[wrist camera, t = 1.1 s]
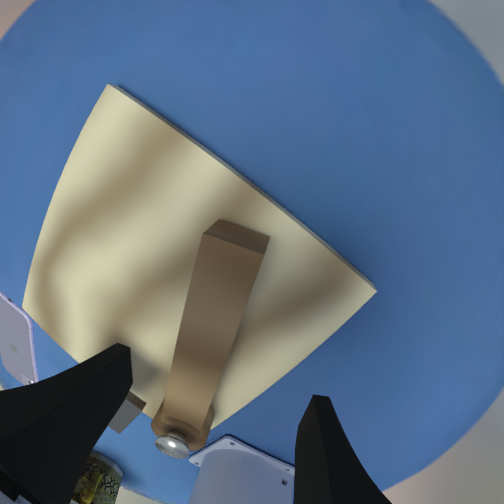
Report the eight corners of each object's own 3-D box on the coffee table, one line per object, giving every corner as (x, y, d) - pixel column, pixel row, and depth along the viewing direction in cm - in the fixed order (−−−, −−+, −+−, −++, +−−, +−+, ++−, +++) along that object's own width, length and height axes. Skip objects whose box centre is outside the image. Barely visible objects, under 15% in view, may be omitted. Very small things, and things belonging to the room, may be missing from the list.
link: (208, 431, 23) (199, 456, 20) (161, 413, 23) (149, 437, 20) (282, 240, 17) (278, 259, 14) (207, 215, 17) (188, 228, 14)
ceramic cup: (123, 485, 35) (101, 528, 26) (72, 451, 34) (45, 492, 25) (148, 469, 31) (122, 525, 21) (84, 427, 30) (48, 479, 21)
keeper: (215, 404, 22) (199, 449, 18) (180, 431, 24) (163, 469, 20) (114, 331, 21) (81, 367, 17) (93, 369, 23) (65, 402, 19)
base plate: (372, 283, 18) (376, 291, 17) (194, 433, 26) (191, 442, 25) (117, 86, 16) (107, 83, 15) (29, 301, 24) (22, 307, 23)
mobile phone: (28, 320, 24) (39, 399, 29) (34, 315, 25) (42, 395, 30) (-12, 285, 24) (2, 368, 29) (-7, 282, 25) (6, 365, 30)
